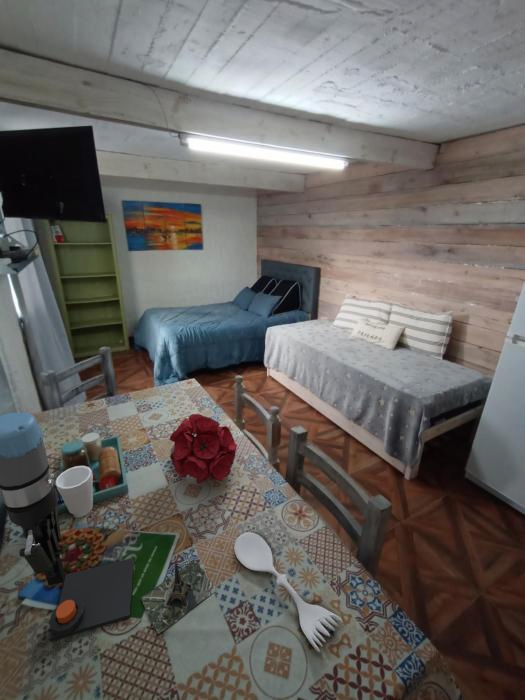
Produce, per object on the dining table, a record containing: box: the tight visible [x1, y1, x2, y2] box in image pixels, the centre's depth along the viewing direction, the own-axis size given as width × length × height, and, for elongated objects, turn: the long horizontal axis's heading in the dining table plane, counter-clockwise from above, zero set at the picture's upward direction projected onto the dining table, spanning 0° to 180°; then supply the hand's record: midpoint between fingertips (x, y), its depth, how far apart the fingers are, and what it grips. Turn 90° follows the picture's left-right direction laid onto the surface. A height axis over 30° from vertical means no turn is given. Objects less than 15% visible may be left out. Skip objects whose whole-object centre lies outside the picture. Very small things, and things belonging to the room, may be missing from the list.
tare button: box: [56, 600, 76, 624], centre depth 70 cm, size 4×4×2 cm
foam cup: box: [55, 465, 94, 519], centre depth 97 cm, size 10×9×13 cm
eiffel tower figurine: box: [140, 558, 217, 635], centre depth 75 cm, size 15×10×13 cm
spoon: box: [233, 531, 344, 653], centre depth 79 cm, size 9×32×4 cm, turn 41°
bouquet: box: [168, 413, 238, 485], centre depth 113 cm, size 22×24×30 cm
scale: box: [48, 557, 135, 642], centre depth 75 cm, size 16×14×3 cm
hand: (57, 580), depth 66 cm, fingers closed
